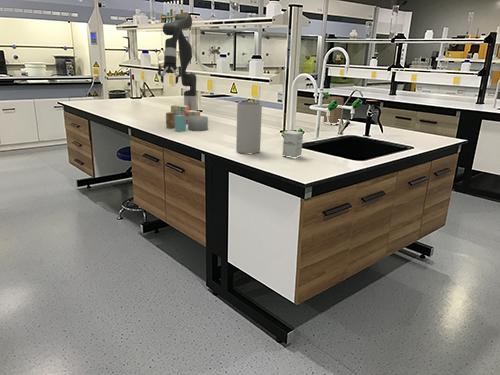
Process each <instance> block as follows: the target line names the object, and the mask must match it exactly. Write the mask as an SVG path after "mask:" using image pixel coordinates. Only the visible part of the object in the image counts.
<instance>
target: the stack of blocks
mask: <svg viewBox="0 0 500 375" xmlns="http://www.w3.org/2000/svg"><path fill="white" fill-rule="evenodd" d="M170 112H176V115H185V116H186V125H188V117H189V116H201V111H199V110H196V111H193V110H190V106H184V104H182V105H181V104H173V105H170Z"/></svg>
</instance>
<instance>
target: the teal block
mask: <svg viewBox="0 0 500 375" xmlns="http://www.w3.org/2000/svg"><path fill="white" fill-rule="evenodd" d="M174 131H175V132H179V133H182V132H187V124H186V116H185V115H175V128H174Z"/></svg>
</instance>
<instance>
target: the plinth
mask: <svg viewBox="0 0 500 375" xmlns="http://www.w3.org/2000/svg"><path fill="white" fill-rule="evenodd" d="M208 120H209V117H208V116H205V115H200V116H189V117H188V124H187V127H188V128H187V129H188V131H191V130H192V131H193V132H194V131H195V132H204V131H208V130H209V129H208V128H209V123H208V122H209V121H208Z"/></svg>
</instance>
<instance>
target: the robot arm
mask: <svg viewBox="0 0 500 375" xmlns="http://www.w3.org/2000/svg"><path fill="white" fill-rule="evenodd" d="M192 26H193V18H192V16H191V15H190V14H187V13H176V14H175V17H174V20H173V21H169V22H165V23H164V24H163V26H162V33H163V34H164V35H165V36H171V37H169V38H166V39H165V41H164V53H163V56H164V57H163V65H160V64H159V65H158V68H157V75H158V76H160V82H161V84H164V83H165V82H164V76H165V75H166V74H172V75H173V74H174V75H175V80H174V81H175V84H178V83H179V78H180V77H181V78H180V79H181V85H182V86H183V87H191V88H189V89H188V90H186V91H184V92H183V102H184V103H183V105H184V106H190V110H193V111H197V75H196V74H195V73H187V68H188V66H189V64H190V62H191V60H192V58H193V49H192V48H193V47H192V46H191V44H190V42H189V41H188V39H187V38H186V36H185V35H184V32H183V30H187V29H191V27H192ZM177 46H178V55H179V56H178V55H177ZM177 56H178V57H179V62H180V66H177ZM162 70H163V71H162ZM176 70H178V73H177V71H176Z"/></svg>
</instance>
